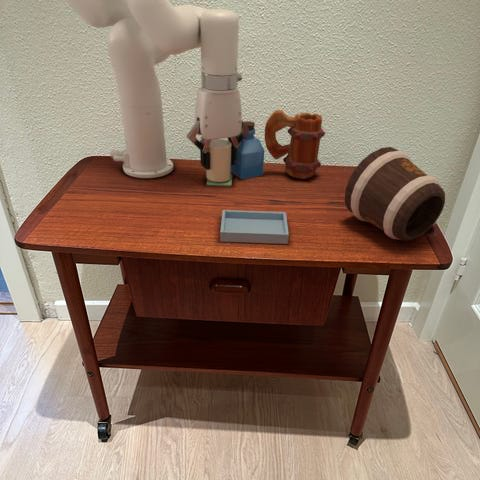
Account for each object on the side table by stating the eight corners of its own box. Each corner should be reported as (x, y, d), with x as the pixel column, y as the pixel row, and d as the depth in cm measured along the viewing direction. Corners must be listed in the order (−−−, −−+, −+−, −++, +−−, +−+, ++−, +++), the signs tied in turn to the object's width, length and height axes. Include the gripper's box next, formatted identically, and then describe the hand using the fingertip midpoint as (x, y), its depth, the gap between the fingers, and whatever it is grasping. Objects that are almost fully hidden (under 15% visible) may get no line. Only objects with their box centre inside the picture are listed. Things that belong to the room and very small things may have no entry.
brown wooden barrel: (328, 201, 86) (378, 242, 77) (376, 131, 80) (436, 167, 71) (377, 225, 100) (423, 261, 91) (420, 167, 93) (475, 200, 85)
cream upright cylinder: (205, 181, 101) (204, 147, 96) (207, 171, 106) (206, 138, 101) (230, 182, 101) (231, 148, 96) (231, 172, 106) (232, 139, 101)
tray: (220, 241, 83) (220, 231, 81) (222, 218, 90) (222, 209, 88) (287, 244, 83) (288, 234, 81) (284, 221, 90) (285, 212, 88)
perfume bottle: (241, 179, 105) (242, 128, 97) (230, 170, 109) (230, 121, 101) (262, 175, 107) (266, 125, 100) (251, 166, 112) (253, 118, 104)
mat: (206, 185, 102) (206, 183, 102) (208, 175, 106) (208, 173, 106) (231, 186, 102) (231, 184, 102) (232, 176, 106) (232, 174, 106)
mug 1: (318, 170, 111) (328, 108, 101) (319, 183, 105) (330, 118, 95) (262, 166, 112) (266, 104, 102) (260, 179, 106) (265, 114, 96)
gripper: (245, 74, 96) (242, 155, 108) (174, 80, 89) (179, 165, 101) (263, 82, 91) (257, 165, 103) (188, 89, 84) (191, 177, 96)
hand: (218, 164), depth 102 cm, fingers closed on cream upright cylinder, 6 cm apart
